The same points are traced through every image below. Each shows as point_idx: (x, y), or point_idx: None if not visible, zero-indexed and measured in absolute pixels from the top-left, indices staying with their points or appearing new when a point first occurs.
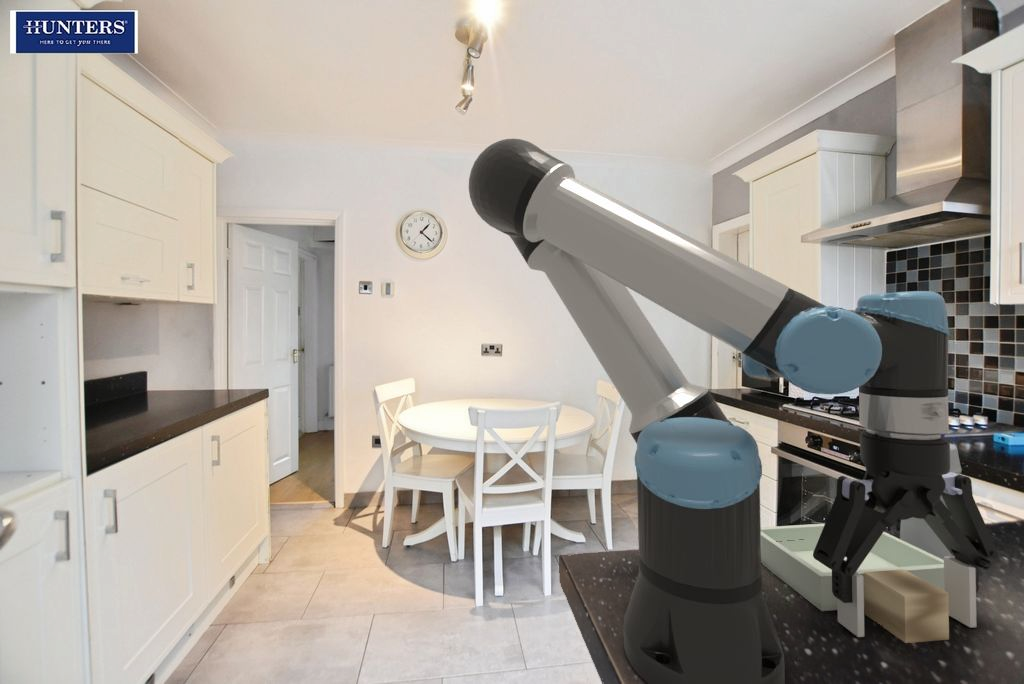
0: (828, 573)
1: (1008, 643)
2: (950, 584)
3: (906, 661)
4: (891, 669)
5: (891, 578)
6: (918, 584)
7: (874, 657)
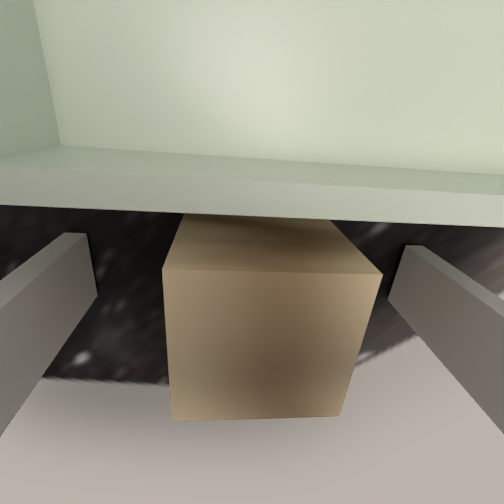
0: (5, 181)
1: (400, 336)
2: (465, 316)
3: (138, 356)
4: (87, 369)
5: (241, 331)
6: (302, 372)
7: (76, 342)
